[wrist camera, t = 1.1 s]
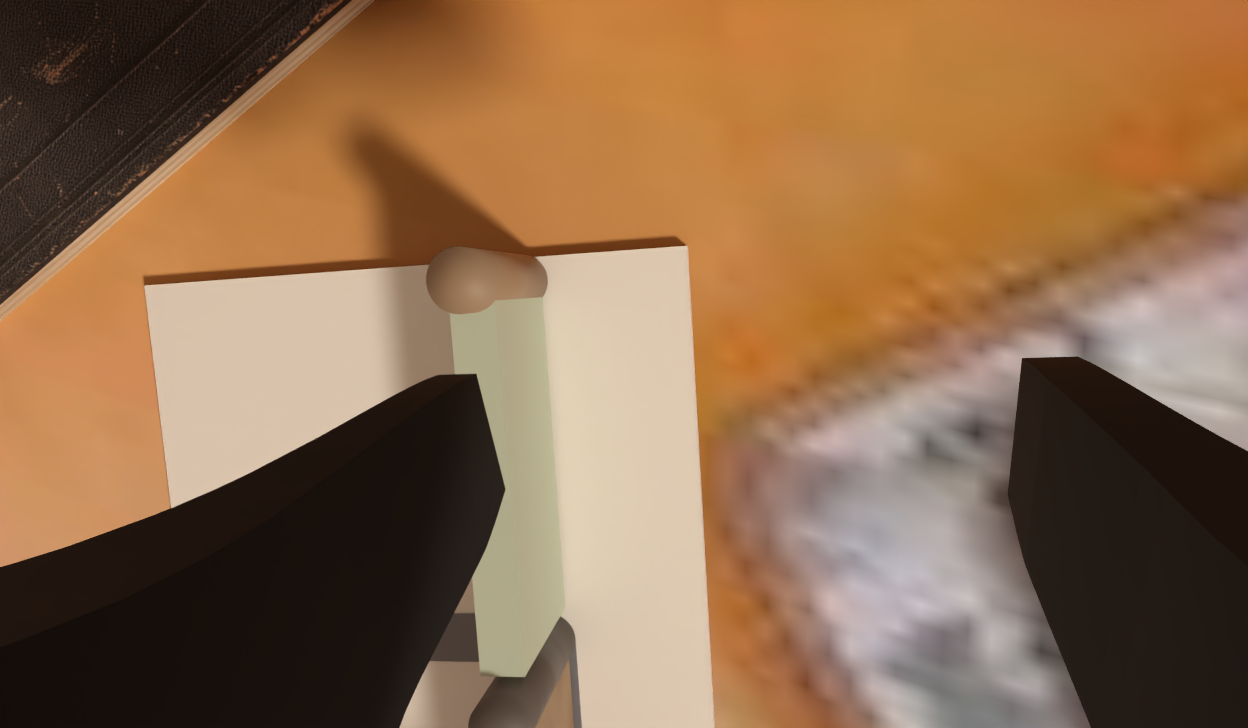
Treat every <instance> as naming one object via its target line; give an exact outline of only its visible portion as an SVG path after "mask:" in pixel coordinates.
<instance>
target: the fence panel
mask: <svg viewBox="0 0 1248 728" xmlns="http://www.w3.org/2000/svg"><path fill="white" fill-rule="evenodd" d="M426 285H427V290H428V293H429V295H430V297H431V299H432V300H433V301H434V303H435V304H436V305H437V306H438V307H440V308H441V309H442V310H444V311H446V312H448V313H450V323H451V335H452V346H453V358H454V370H455V374H477V378H478V382H479V386H480V390H481V394H482V398H483V402H484V406H485V410H486V414H487V418H488V422H489V426H490V429H491V433H492V437H493V441H494V445H495V449H496V453H497V457H498V461H499V465H500V469H501V473H502V477H503V481H504V485H505V489H506V490H505V493H504V496H503V500H502V503H501V506H500V509H499V513H498V516H497V519H496V522H495V525H494V528H493V531H492V534H491V536H490V539H489V542H488V545H487V548H486V550H485V552H484V554H483V556H482V558H481V560H480V562H479V564H478V566H477V568H476V570H475V572H474V574H473V577H472V583H473V594H474V606H475V618H476V630H477V642H478V653H479V665H480V676H496V677H525V676H526V674H527V673H528V671H529V669H530V667H531V666H532V664H533V662H534V661H535V659H536V657H537V655H538V654H539V652H540V650H541V649H542V647H543V645H544V643H545V642H546V640H547V638H548V636H549V635H550V633H551V631H552V630H553V628H554V626H555V624H556V623H557V621H558V619H559V618H560V616H561V614H562V612H563V611H564V609H565V595H564V582H563V568H562V555H561V541H560V527H559V514H558V500H557V487H556V473H555V459H554V446H553V432H552V419H551V405H550V391H549V378H548V364H547V351H546V337H545V324H544V310H543V296H544V294H545V292H546V290H547V285H548V278H547V273H546V270H545V268H544V266H543V265H542V264H541V263H540V262H539V261H538V260H537V259H536V258H534V257H532V256H530V255H526V254H518V253H509V252H501V251H493V250H485V249H477V248H469V247H461V246H454V247H449V248H446V249H444V250H442V251H441V252H439V253H438V254H437V255H436V256H435V257H434V258H433V259H432V261H431V262H430V264H429V267H428V269H427V274H426Z"/></svg>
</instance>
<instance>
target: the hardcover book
mask: <svg viewBox="0 0 1248 728" xmlns="http://www.w3.org/2000/svg"><path fill="white" fill-rule="evenodd" d="M373 1H375V0H0V322H1V321H2V320H3V319H4V318H5V317H6V316H8V315H9V314H10V313H11V312H12V311H13V310H15V309H16V308H17V307H18V306H19V305H20V304H21V303H23V302H24V301H25V300H26V299H27V298H28V297H30V296H31V295H32V294H33V293H34V292H35V291H37V290H38V289H39V288H40V287H41V286H42V285H44V284H45V283H46V282H47V281H48V280H49V279H51V278H52V277H53V276H54V275H55V274H56V273H58V272H59V271H60V270H61V269H62V268H63V267H65V266H66V265H67V264H68V263H69V262H70V261H72V260H73V259H74V258H75V257H76V256H77V255H79V254H80V253H81V252H82V251H83V250H84V249H86V248H87V247H88V246H89V245H90V244H91V243H93V242H94V241H95V240H96V239H97V238H98V237H100V236H101V235H102V234H103V233H104V232H105V231H107V230H108V229H109V228H110V227H111V226H112V225H114V224H115V223H116V222H117V221H118V220H119V219H121V218H122V217H123V216H124V215H125V214H126V213H128V212H129V211H130V210H131V209H132V208H133V207H135V206H136V205H137V204H138V203H139V202H140V201H142V200H143V199H144V198H145V197H146V196H147V195H149V194H150V193H151V192H152V191H153V190H154V189H156V188H157V187H158V186H159V185H160V184H161V183H162V182H164V181H165V180H166V179H167V178H168V177H169V176H171V175H172V174H173V173H174V172H175V171H176V170H178V169H179V168H180V167H181V166H182V165H183V164H185V163H186V162H187V161H188V160H189V159H190V158H192V157H193V156H194V155H195V154H196V153H197V152H199V151H200V150H201V149H202V148H203V147H204V146H206V145H207V144H208V143H209V142H210V141H211V140H213V139H214V138H215V137H216V136H217V135H218V134H220V133H221V132H222V131H223V130H224V129H225V128H227V127H228V126H229V125H230V124H231V123H232V122H234V121H235V120H236V119H237V118H238V117H239V116H241V115H242V114H243V113H244V112H245V111H246V110H248V109H249V108H250V107H251V106H252V105H253V104H255V103H256V102H257V101H258V100H259V99H260V98H262V97H263V96H264V95H265V94H266V93H267V92H269V91H270V90H271V89H272V88H273V87H274V86H276V85H277V84H278V83H279V82H280V81H281V80H283V79H284V78H285V77H286V76H287V75H288V74H290V73H291V72H292V71H293V70H294V69H295V68H297V67H298V66H299V65H300V64H301V63H302V62H303V61H305V60H306V59H307V58H308V57H309V56H310V55H312V54H313V53H314V52H315V51H316V50H317V49H319V48H320V47H321V46H322V45H323V44H324V43H326V42H327V41H328V40H329V39H330V38H331V37H333V36H334V35H335V34H336V33H337V32H338V31H340V30H341V29H342V28H343V27H344V26H345V25H347V24H348V23H349V22H350V21H351V20H352V19H354V18H355V17H356V16H357V15H358V14H359V13H361V12H362V11H363V10H364V9H365V8H366V7H368V6H369V5H370V4H371V3H372V2H373Z"/></svg>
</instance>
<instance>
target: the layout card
mask: <svg viewBox="0 0 1248 728" xmlns="http://www.w3.org/2000/svg"><path fill="white" fill-rule="evenodd" d="M534 258H536V259H537V260H538V261H539V262H540V263H541V264H542V265H543V266H544V268H545V270H546V273H547V278H548V285H547V290H546V292H545V294H544V296H543V310H544V324H545V337H546V351H547V364H548V378H549V391H550V405H551V419H552V432H553V446H554V459H555V473H556V487H557V500H558V514H559V527H560V541H561V555H562V568H563V582H564V595H565V609H564V611H563V612H562V614H561V616H560V617H562V618H564V619H565V620H566V621H567V622H568V623H569V624H570V625H571V627H572V628H573V630H574V633H575V646H574V649H573V652H572V654H571V656H570V658H569V663H570V677H571V690H572V704H573V718H574V728H715V721H714V703H713V685H712V667H711V650H710V632H709V614H708V596H707V578H706V560H705V543H704V525H703V507H702V489H701V471H700V453H699V435H698V418H697V400H696V382H695V364H694V346H693V328H692V311H691V293H690V275H689V257H688V246H676V247H663V248H649V249H635V250H622V251H608V252H594V253H581V254H567V255H553V256H540V257H534ZM428 267H429V265H417V266H403V267H390V268H376V269H363V270H349V271H335V272H322V273H308V274H294V275H281V276H267V277H253V278H240V279H226V280H213V281H199V282H185V283H172V284H158V285H144V287H145V295H146V303H147V312H148V320H149V328H150V337H151V345H152V353H153V361H154V370H155V378H156V386H157V395H158V403H159V411H160V419H161V428H162V436H163V444H164V453H165V461H166V469H167V478H168V486H169V494H170V502H171V508H173V507H175V506H178V505H180V504H182V503H185V502H187V501H189V500H192V499H194V498H196V497H199V496H201V495H203V494H206V493H208V492H210V491H212V490H215V489H217V488H219V487H221V486H223V485H225V484H228V483H230V482H232V481H234V480H236V479H238V478H240V477H242V476H244V475H247V474H249V473H251V472H253V471H255V470H256V469H258V468H260V467H262V466H264V465H266V464H268V463H270V462H272V461H274V460H276V459H278V458H279V457H281V456H283V455H285V454H287V453H289V452H291V451H293V450H295V449H297V448H299V447H301V446H303V445H304V444H306V443H308V442H310V441H312V440H314V439H316V438H318V437H320V436H321V435H323V434H325V433H327V432H329V431H330V430H332V429H334V428H336V427H338V426H339V425H341V424H343V423H345V422H346V421H348V420H350V419H352V418H354V417H355V416H357V415H359V414H361V413H363V412H364V411H366V410H368V409H370V408H372V407H373V406H375V405H377V404H379V403H381V402H382V401H384V400H386V399H388V398H390V397H392V396H393V395H395V394H397V393H399V392H401V391H403V390H405V389H407V388H409V387H411V386H413V385H415V384H417V383H419V382H421V381H423V380H426V379H428V378H431V377H433V376H436V375H447V374H455V370H454V358H453V346H452V335H451V323H450V313H448V312H446V311H444V310H442V309H441V308H440V307H438V306H437V305H436V304H435V303H434V301H433V300H432V299H431V297H430V295H429V293H428V290H427V285H426V274H427V269H428ZM495 677H496V676H480V665H479V653H478V642H477V630H476V618H475V606H474V594H473V583H472V579H471V581H470V583H469V585H468V587H467V589H466V591H465V593H464V595H463V597H462V599H461V600H460V602H459V604H458V606H457V608H456V610H455V612H454V614H453V616H452V618H451V620H450V622H449V624H448V626H447V628H446V630H445V632H444V634H443V636H442V638H441V640H440V642H439V644H438V645H437V647H436V649H435V651H434V653H433V655H432V657H431V659H430V661H429V663H428V665H427V667H426V669H425V671H424V673H423V675H422V677H421V679H420V681H419V683H418V685H417V688H416V690H415V692H414V694H413V696H412V698H411V701H410V703H409V705H408V707H407V709H406V712H405V714H404V717H403V720H402V722H401V725H400V728H468V723H469V718H470V716H471V713H472V712H473V710H474V709H475V707H476V706H477V704H478V703H479V701H480V700H481V698H482V696H483V695H484V693H485V692H486V690H487V689H488V687H489V686H490V684H491V683H492V681H493V680H494V678H495Z"/></svg>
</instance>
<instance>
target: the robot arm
mask: <svg viewBox="0 0 1248 728" xmlns="http://www.w3.org/2000/svg"><path fill="white" fill-rule="evenodd" d="M505 490H506V489H505V485H504V481H503V477H502V473H501V469H500V465H499V461H498V457H497V453H496V449H495V445H494V441H493V437H492V433H491V429H490V426H489V422H488V418H487V414H486V410H485V406H484V402H483V398H482V394H481V390H480V386H479V382H478V378H477V374H447V375H436V376H433V377H431V378H428V379H426V380H423V381H421V382H419V383H417V384H415V385H413V386H411V387H409V388H407V389H405V390H403V391H401V392H399V393H397V394H395V395H393V396H392V397H390V398H388V399H386V400H384V401H382V402H381V403H379V404H377V405H375V406H373V407H372V408H370V409H368V410H366V411H364V412H363V413H361V414H359V415H357V416H355V417H354V418H352V419H350V420H348V421H346V422H345V423H343V424H341V425H339V426H338V427H336V428H334V429H332V430H330V431H329V432H327V433H325V434H323V435H321V436H320V437H318V438H316V439H314V440H312V441H310V442H308V443H306V444H304V445H303V446H301V447H299V448H297V449H295V450H293V451H291V452H289V453H287V454H285V455H283V456H281V457H279V458H278V459H276V460H274V461H272V462H270V463H268V464H266V465H264V466H262V467H260V468H258V469H256V470H255V471H253V472H251V473H249V474H247V475H244V476H242V477H240V478H238V479H236V480H234V481H232V482H230V483H228V484H225V485H223V486H221V487H219V488H217V489H215V490H212V491H210V492H208V493H206V494H203V495H201V496H199V497H196V498H194V499H192V500H189V501H187V502H185V503H182V504H180V505H178V506H175V507H173V508H171V509H168V510H166V511H163V512H161V513H158V514H156V515H153V516H151V517H148V518H145V519H142V520H140V521H137V522H134V523H131V524H129V525H126V526H123V527H120V528H118V529H115V530H112V531H109V532H107V533H104V534H101V535H98V536H95V537H93V538H90V539H87V540H84V541H82V542H79V543H76V544H73V545H71V546H68V547H65V548H62V549H59V550H55V551H52V552H49V553H46V554H43V555H39V556H36V557H33V558H30V559H27V560H23V561H20V562H17V563H14V564H10V565H7V566H3V567H0V728H400V725H401V722H402V720H403V717H404V714H405V712H406V709H407V707H408V705H409V703H410V701H411V698H412V696H413V694H414V692H415V690H416V688H417V685H418V683H419V681H420V679H421V677H422V675H423V673H424V671H425V669H426V667H427V665H428V663H429V661H430V659H431V657H432V655H433V653H434V651H435V649H436V647H437V645H438V644H439V642H440V640H441V638H442V636H443V634H444V632H445V630H446V628H447V626H448V624H449V622H450V620H451V618H452V616H453V614H454V612H455V610H456V608H457V606H458V604H459V602H460V600H461V599H462V597H463V595H464V593H465V591H466V589H467V587H468V585H469V583H470V581H471V579H472V577H473V574H474V572H475V570H476V568H477V566H478V564H479V562H480V560H481V558H482V556H483V554H484V552H485V550H486V548H487V545H488V542H489V539H490V536H491V534H492V531H493V528H494V525H495V522H496V519H497V516H498V513H499V509H500V506H501V503H502V500H503V496H504V493H505ZM1008 497H1009V501H1010V505H1011V510H1012V514H1013V518H1014V523H1015V527H1016V531H1017V535H1018V539H1019V543H1020V547H1021V551H1022V554H1023V558H1024V562H1025V565H1026V568H1027V570H1028V573H1029V575H1030V578H1031V581H1032V583H1033V586H1034V588H1035V591H1036V593H1037V596H1038V598H1039V601H1040V603H1041V606H1042V608H1043V611H1044V613H1045V616H1046V618H1047V621H1048V623H1049V625H1050V628H1051V630H1052V633H1053V635H1054V638H1055V640H1056V643H1057V645H1058V647H1059V650H1060V652H1061V655H1062V657H1063V660H1064V662H1065V665H1066V667H1067V669H1068V672H1069V674H1070V677H1071V679H1072V682H1073V684H1074V687H1075V689H1076V691H1077V694H1078V696H1079V699H1080V701H1081V704H1082V706H1083V709H1084V711H1085V713H1086V716H1087V718H1088V721H1089V723H1090V726H1091V728H1248V451H1246V450H1244V449H1242V448H1241V447H1239V446H1237V445H1235V444H1233V443H1231V442H1229V441H1227V440H1226V439H1224V438H1222V437H1220V436H1218V435H1216V434H1215V433H1213V432H1211V431H1209V430H1207V429H1206V428H1204V427H1202V426H1200V425H1199V424H1197V423H1195V422H1193V421H1191V420H1190V419H1188V418H1186V417H1184V416H1183V415H1181V414H1179V413H1177V412H1176V411H1174V410H1172V409H1171V408H1169V407H1167V406H1165V405H1164V404H1162V403H1160V402H1159V401H1157V400H1155V399H1153V398H1152V397H1150V396H1148V395H1147V394H1145V393H1143V392H1141V391H1140V390H1138V389H1136V388H1135V387H1133V386H1131V385H1130V384H1128V383H1126V382H1124V381H1123V380H1121V379H1119V378H1117V377H1116V376H1114V375H1112V374H1110V373H1109V372H1107V371H1105V370H1103V369H1102V368H1100V367H1098V366H1096V365H1094V364H1092V363H1090V362H1088V361H1086V360H1084V359H1082V358H1080V357H1049V358H1022V364H1021V374H1020V383H1019V393H1018V402H1017V412H1016V421H1015V431H1014V441H1013V450H1012V460H1011V469H1010V479H1009V488H1008Z"/></svg>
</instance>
